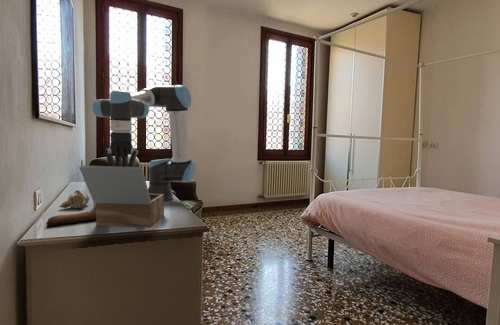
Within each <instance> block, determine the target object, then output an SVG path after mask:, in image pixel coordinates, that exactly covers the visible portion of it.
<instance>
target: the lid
mask: <svg viewBox="0 0 500 325" xmlns="http://www.w3.org/2000/svg"><path fill="white" fill-rule="evenodd" d="M79 170H80V173H81V174H82V177H83V180H84V182H85V185H86V186H87V190H88V192H89V193H90V197H91V199H92V202H93V201H94V203H112V204H144V205H150V204H151V199H150V196H149V192H148V188H149V187H148V185H147V181H146V177H145V173H144V169H143V167H142V166H134V167H122V166H121V167H117V166H109V165H107V166H105V165H81V164H80V166H79Z"/></svg>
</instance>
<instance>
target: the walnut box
mask: <svg viewBox="0 0 500 325" xmlns="http://www.w3.org/2000/svg"><path fill="white" fill-rule="evenodd" d="M149 196H150V199H151V204H150V205H144V204H112V203H96V208H95V213H96V220H95V223H96V224H95V225H96V226H107V227H133V228H134V227H138V228H152V227H153V226H154V225H155V224H157V223H158V222H159V221H160V219H162V218H163V217H164V216H165V200H164V194H149Z"/></svg>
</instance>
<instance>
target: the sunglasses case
mask: <svg viewBox="0 0 500 325" xmlns="http://www.w3.org/2000/svg"><path fill="white" fill-rule="evenodd" d="M92 220H93V221H96V211H81V212H76V213H69V214H57V215H54V216H52V217H49V218H48V219H47V220H46V223H45V224H46V227H47V228H49V227H55V226H60V225H65V224H70V223H79V222H86V221H87V222H88V221H92Z"/></svg>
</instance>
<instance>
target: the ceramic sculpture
mask: <svg viewBox="0 0 500 325" xmlns="http://www.w3.org/2000/svg"><path fill="white" fill-rule="evenodd" d="M89 202H90V196H89V195H88V193H87V191H85V190H82V191H81V190H75V191H74V192H73V193H71V194H70V195H69V196H68V199H67V200H64V202H62V203H61V205H59V208H62V209H67V208H69V207H70V208H72V209H82V208H84V207H85V206H86V205H87V204H89Z"/></svg>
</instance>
